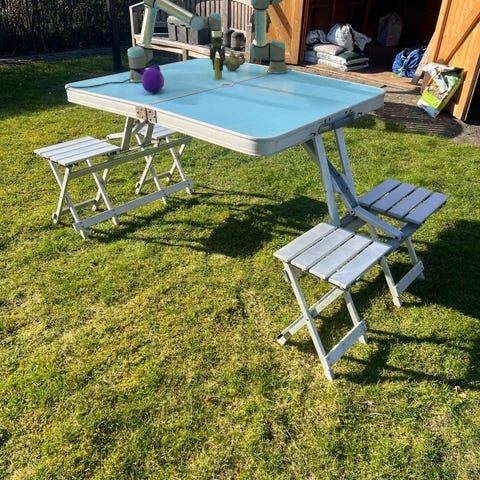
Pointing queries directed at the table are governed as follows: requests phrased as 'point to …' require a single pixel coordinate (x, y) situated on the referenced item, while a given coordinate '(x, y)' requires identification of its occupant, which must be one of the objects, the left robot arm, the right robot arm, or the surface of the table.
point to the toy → (152, 79)
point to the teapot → (234, 61)
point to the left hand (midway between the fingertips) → (218, 70)
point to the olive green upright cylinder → (217, 69)
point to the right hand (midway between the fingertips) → (260, 32)
